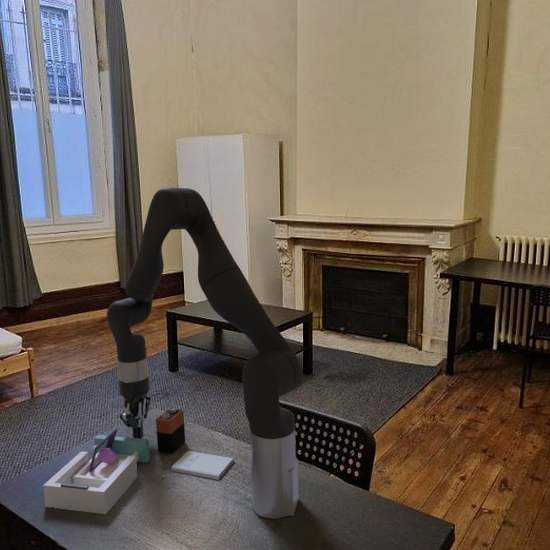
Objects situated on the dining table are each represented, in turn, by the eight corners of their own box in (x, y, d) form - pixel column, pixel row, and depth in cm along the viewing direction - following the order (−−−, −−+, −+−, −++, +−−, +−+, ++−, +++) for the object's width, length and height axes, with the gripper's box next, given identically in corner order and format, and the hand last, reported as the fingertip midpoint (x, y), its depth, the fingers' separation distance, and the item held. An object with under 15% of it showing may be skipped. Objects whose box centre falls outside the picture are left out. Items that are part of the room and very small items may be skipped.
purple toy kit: (113, 427, 126) (92, 445, 117) (132, 435, 125) (112, 455, 116) (106, 450, 127) (86, 470, 119) (125, 459, 127) (105, 479, 118)
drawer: (150, 459, 127) (148, 439, 126) (121, 493, 113) (119, 471, 112) (99, 454, 130) (97, 434, 129) (65, 486, 116) (63, 465, 115)
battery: (186, 442, 135) (184, 406, 133) (172, 455, 129) (169, 417, 127) (171, 439, 137) (169, 404, 135) (157, 452, 131) (154, 415, 129)
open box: (137, 476, 120) (135, 455, 119) (105, 514, 107) (103, 490, 106) (83, 470, 123) (81, 449, 122) (45, 506, 110) (42, 483, 109)
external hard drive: (218, 482, 118) (171, 472, 122) (234, 463, 126) (188, 455, 130) (218, 475, 118) (171, 466, 122) (233, 457, 125) (188, 449, 130)
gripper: (132, 365, 139) (137, 425, 142) (106, 384, 126) (112, 450, 129) (158, 367, 137) (162, 427, 141) (134, 386, 125) (139, 452, 128)
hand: (138, 438), depth 135 cm, fingers closed
